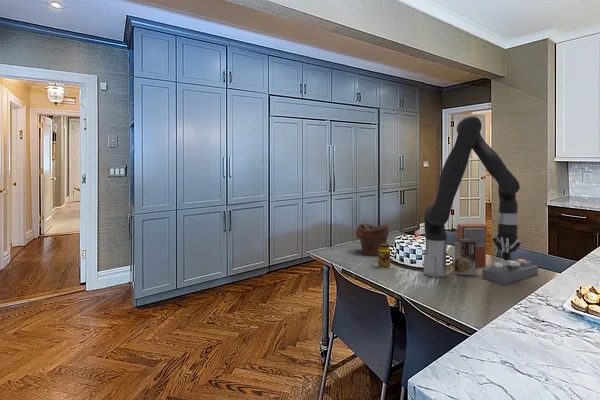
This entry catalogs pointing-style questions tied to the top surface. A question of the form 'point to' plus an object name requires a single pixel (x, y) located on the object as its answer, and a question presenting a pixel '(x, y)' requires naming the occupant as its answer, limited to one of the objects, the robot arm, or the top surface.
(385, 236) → the brown plant pot
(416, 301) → the top surface
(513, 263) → the rocker switch
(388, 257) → the condiment
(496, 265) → the grey button
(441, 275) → the robot arm
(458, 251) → the cookie box
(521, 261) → the terracotta button
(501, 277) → the switch console
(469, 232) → the red upright rectangular box
